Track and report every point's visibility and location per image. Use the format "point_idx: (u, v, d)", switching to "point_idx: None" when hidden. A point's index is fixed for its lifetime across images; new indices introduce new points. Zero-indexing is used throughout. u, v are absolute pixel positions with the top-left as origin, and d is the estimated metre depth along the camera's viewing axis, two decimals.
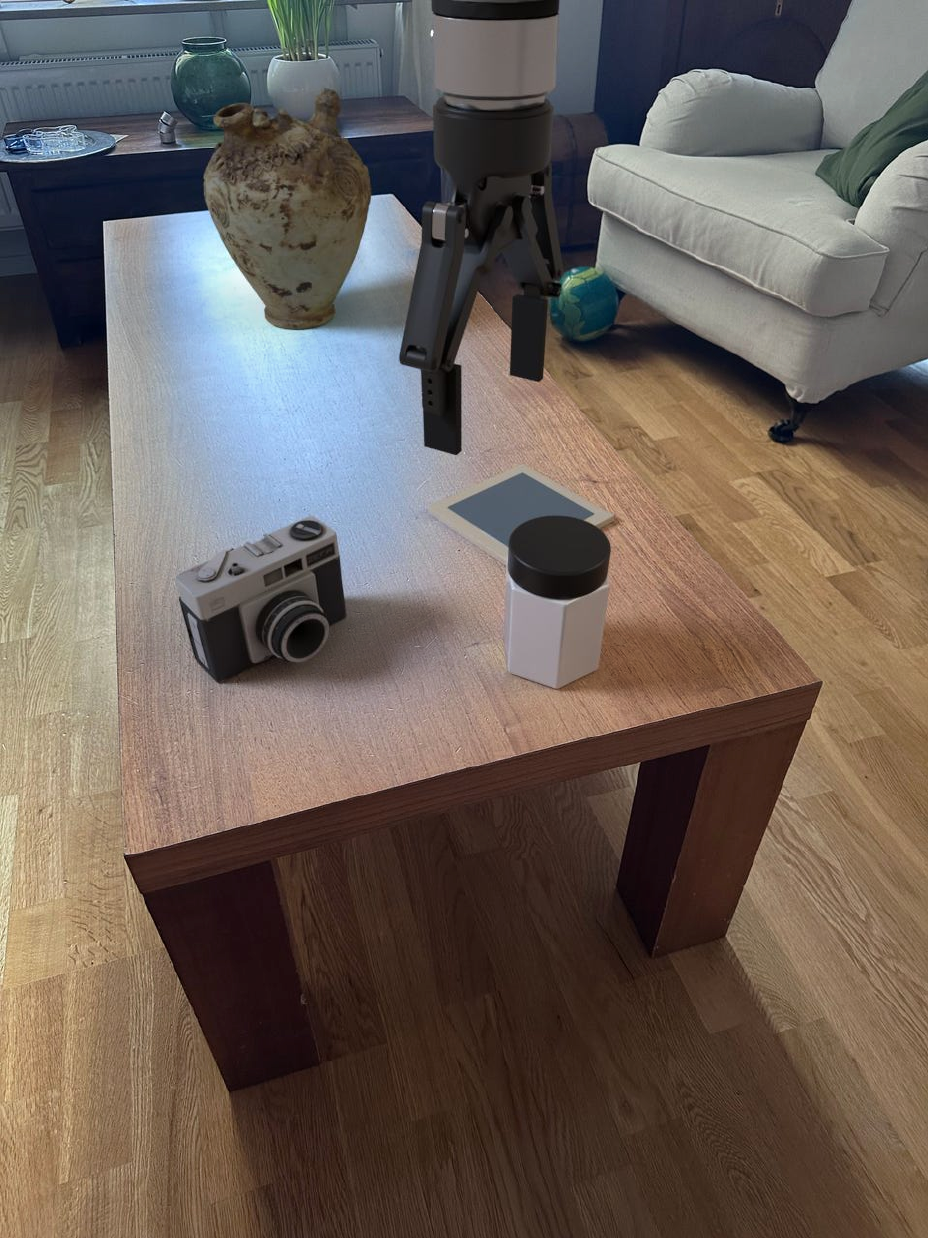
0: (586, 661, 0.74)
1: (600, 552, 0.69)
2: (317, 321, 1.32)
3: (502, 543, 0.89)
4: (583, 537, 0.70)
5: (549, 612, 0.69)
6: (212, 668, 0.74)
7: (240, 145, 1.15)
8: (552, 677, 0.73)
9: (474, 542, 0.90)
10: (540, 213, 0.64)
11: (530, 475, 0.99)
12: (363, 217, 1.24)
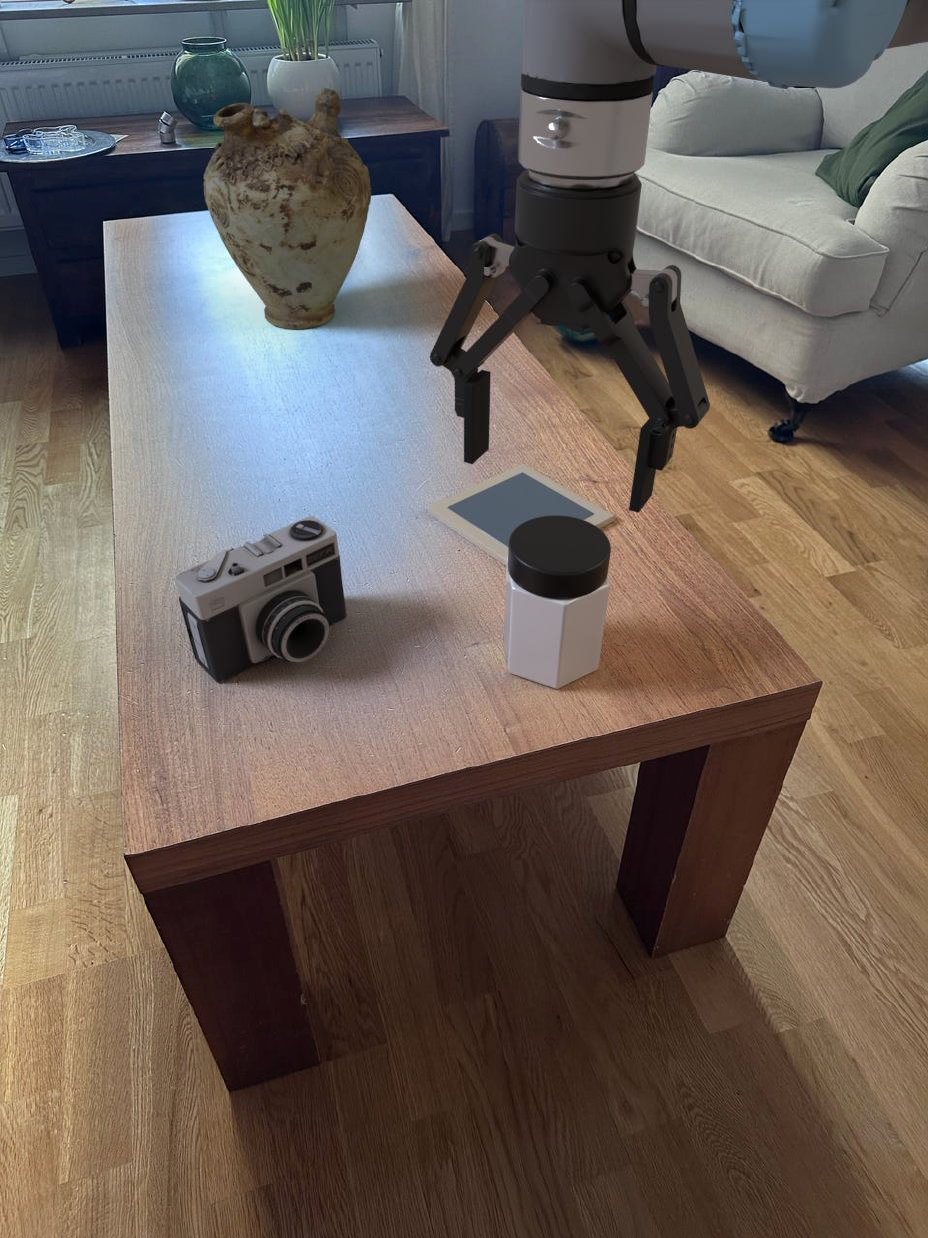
0: (586, 661, 0.74)
1: (600, 552, 0.69)
2: (317, 321, 1.32)
3: (502, 543, 0.89)
4: (583, 537, 0.70)
5: (549, 612, 0.69)
6: (212, 668, 0.74)
7: (240, 145, 1.15)
8: (552, 676, 0.73)
9: (474, 542, 0.90)
10: (490, 287, 0.61)
11: (530, 475, 0.99)
12: (363, 217, 1.24)
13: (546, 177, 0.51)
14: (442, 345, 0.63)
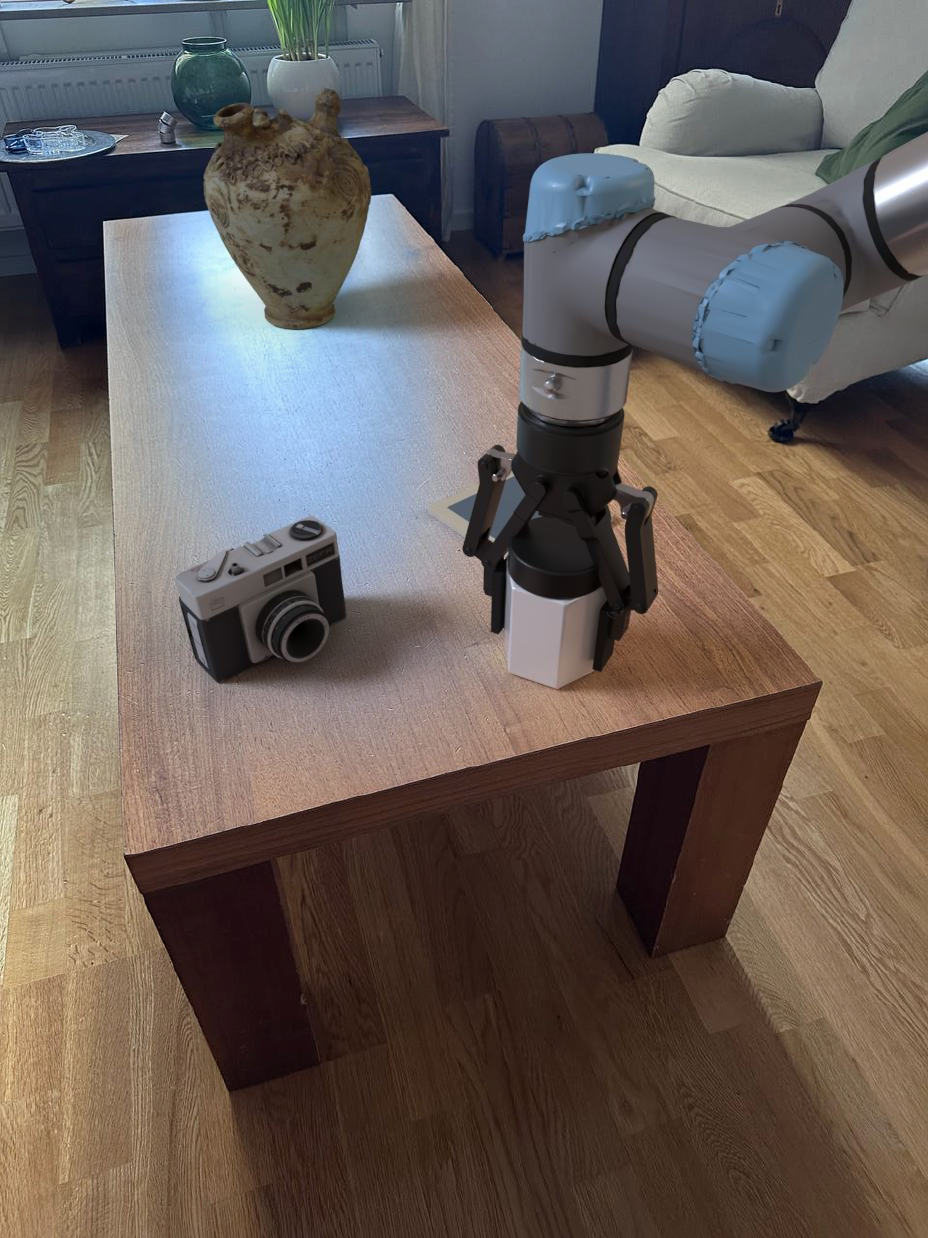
0: (586, 661, 0.74)
1: None
2: (317, 321, 1.32)
3: None
4: None
5: (549, 612, 0.69)
6: (212, 668, 0.74)
7: (240, 145, 1.15)
8: (552, 676, 0.73)
9: None
10: (502, 487, 0.70)
11: None
12: (363, 217, 1.24)
13: (543, 415, 0.60)
14: (471, 540, 0.73)
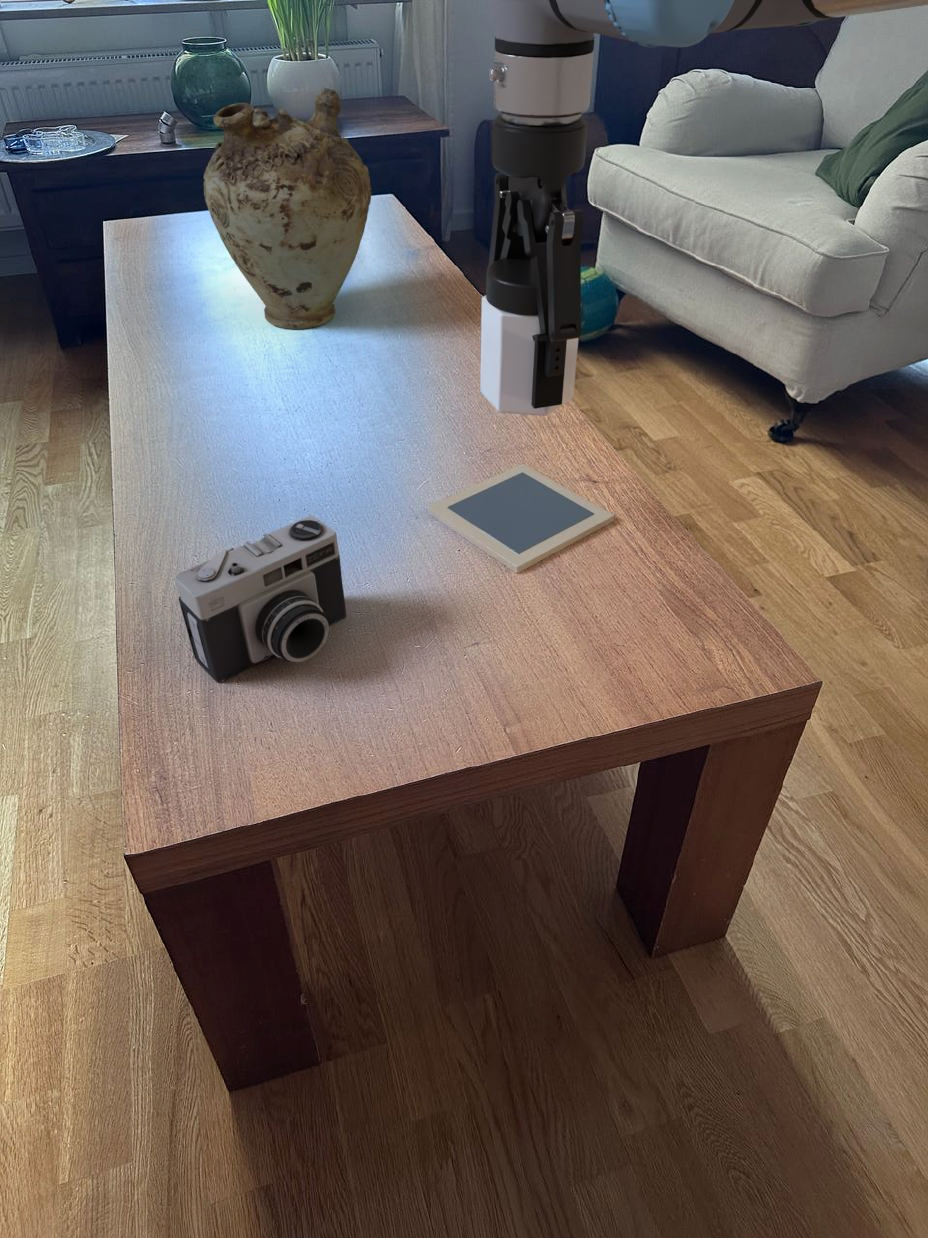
0: (530, 397, 0.81)
1: None
2: (317, 321, 1.32)
3: (502, 543, 0.89)
4: None
5: (495, 323, 0.78)
6: (212, 668, 0.74)
7: (240, 145, 1.15)
8: (496, 397, 0.82)
9: (474, 542, 0.90)
10: None
11: (530, 475, 0.99)
12: (363, 217, 1.24)
13: (501, 112, 0.69)
14: (491, 262, 0.83)
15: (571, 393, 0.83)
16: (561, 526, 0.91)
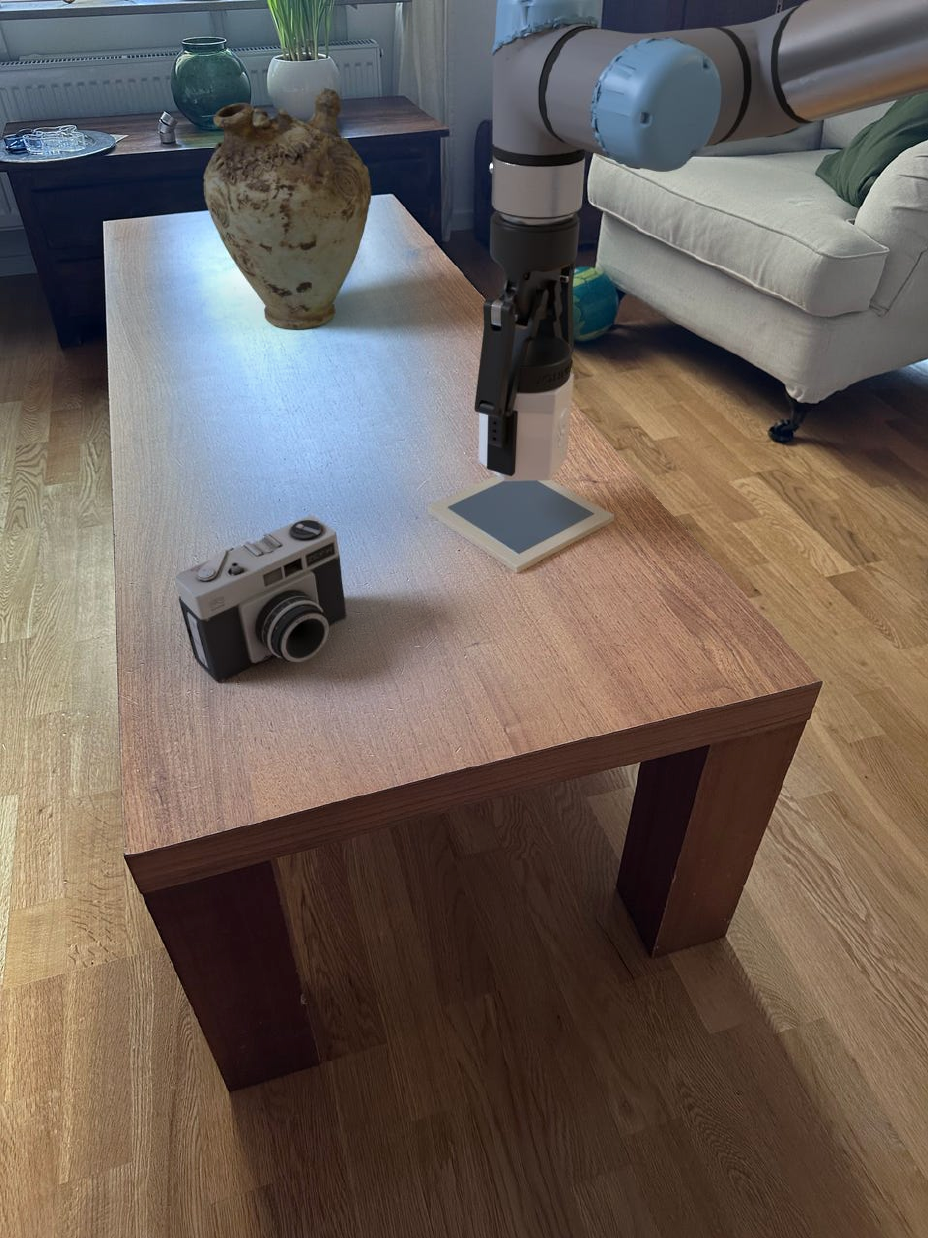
0: None
1: None
2: (317, 321, 1.32)
3: (502, 543, 0.89)
4: (537, 357, 0.80)
5: None
6: (212, 667, 0.74)
7: (240, 145, 1.15)
8: None
9: (474, 542, 0.90)
10: (563, 297, 0.83)
11: None
12: (363, 217, 1.24)
13: None
14: None
15: (545, 474, 0.86)
16: (561, 526, 0.91)
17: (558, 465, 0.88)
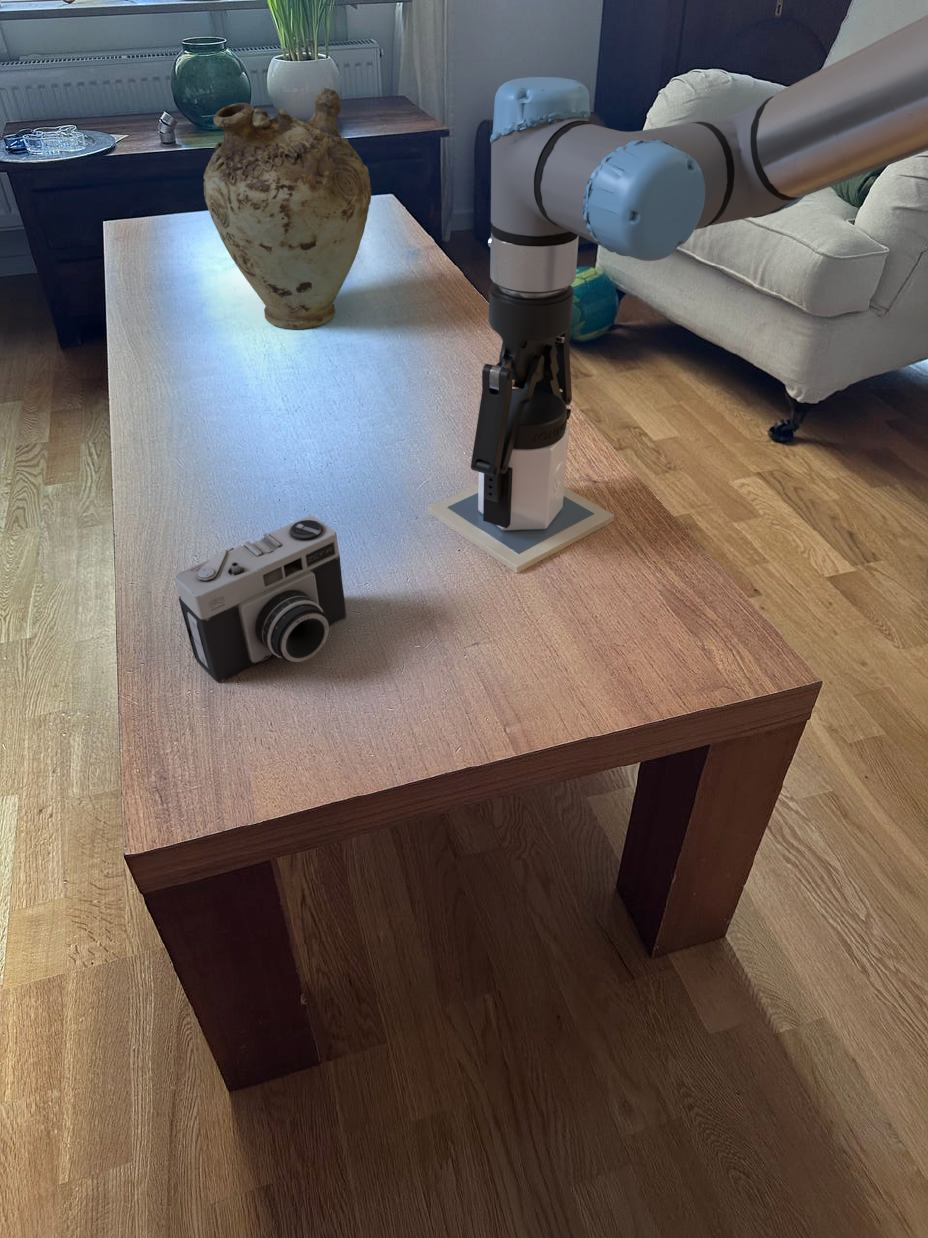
0: None
1: None
2: (317, 321, 1.32)
3: (502, 543, 0.89)
4: (534, 415, 0.84)
5: None
6: (212, 667, 0.74)
7: (240, 145, 1.15)
8: None
9: (474, 542, 0.90)
10: (559, 355, 0.87)
11: None
12: (363, 217, 1.24)
13: None
14: None
15: (542, 523, 0.90)
16: (561, 526, 0.91)
17: (554, 514, 0.91)
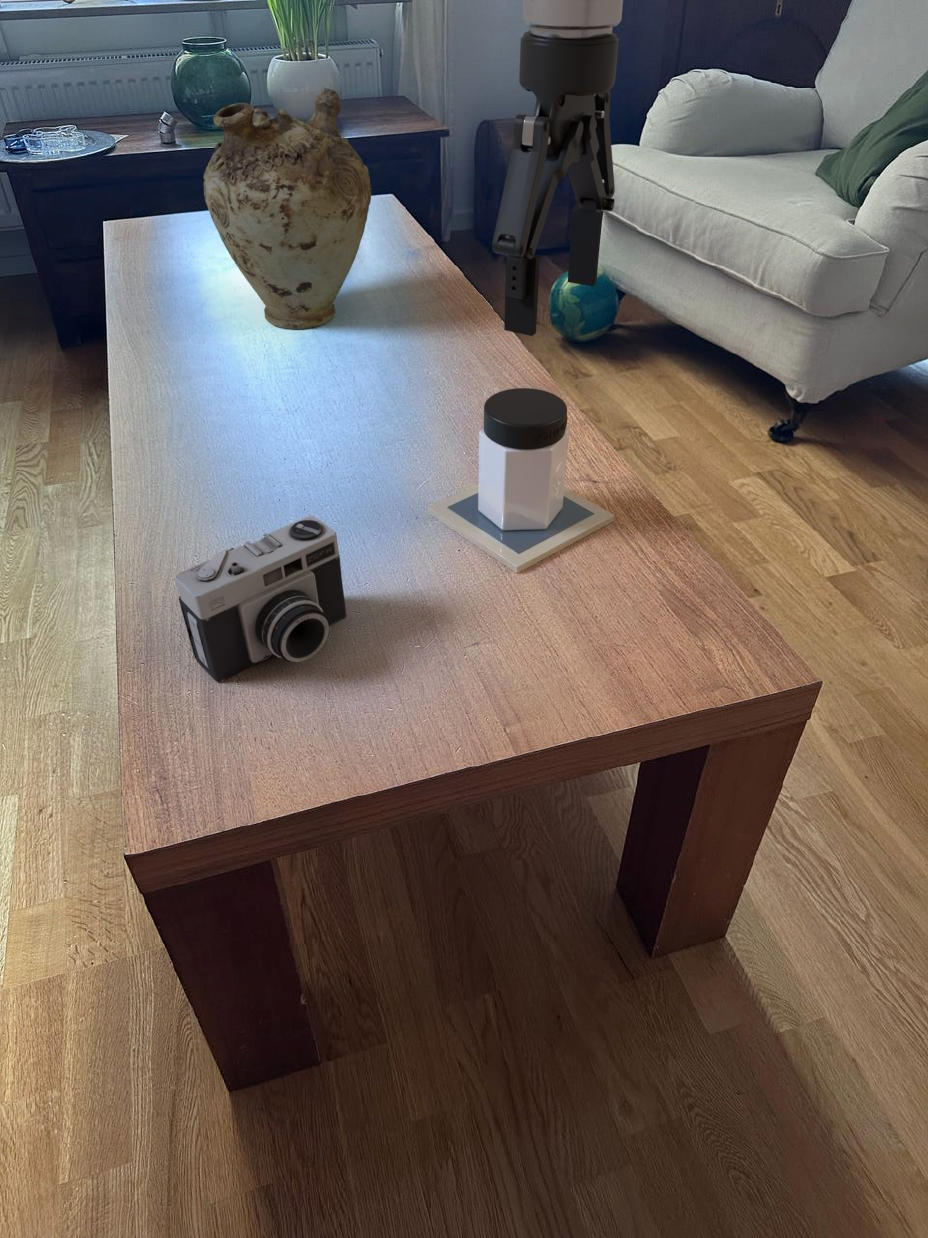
0: (494, 509, 0.90)
1: (513, 420, 0.83)
2: (317, 321, 1.32)
3: (502, 543, 0.89)
4: (534, 415, 0.84)
5: None
6: (212, 667, 0.74)
7: (240, 145, 1.15)
8: None
9: (474, 542, 0.90)
10: (599, 135, 0.77)
11: None
12: (363, 217, 1.24)
13: None
14: None
15: (542, 523, 0.90)
16: (561, 526, 0.91)
17: (554, 514, 0.91)
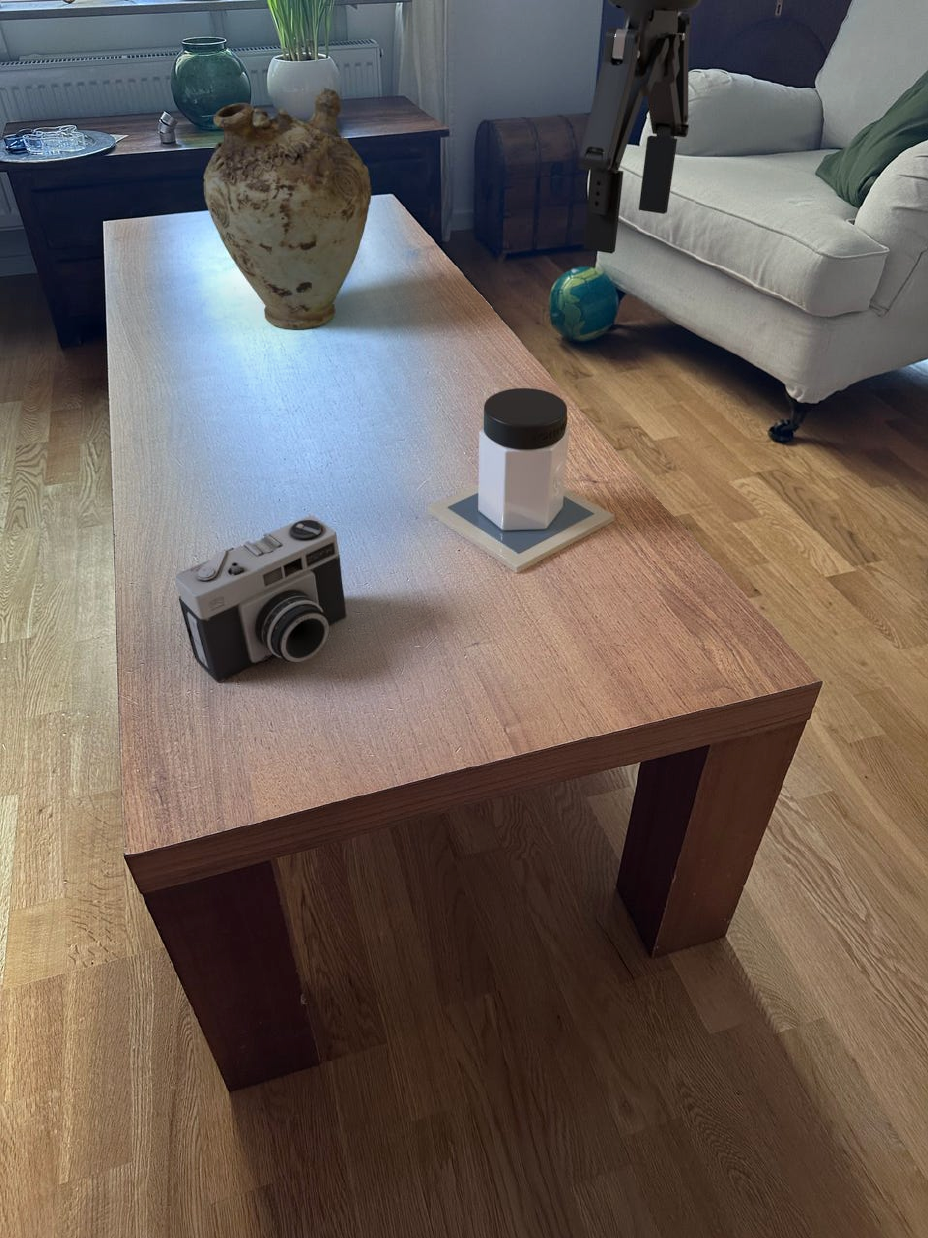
0: (494, 509, 0.90)
1: (513, 420, 0.83)
2: (317, 321, 1.32)
3: (502, 543, 0.89)
4: (534, 415, 0.84)
5: None
6: (212, 667, 0.74)
7: (240, 145, 1.15)
8: None
9: (474, 542, 0.90)
10: (678, 59, 0.79)
11: None
12: (363, 217, 1.24)
13: None
14: None
15: (542, 523, 0.90)
16: (561, 526, 0.91)
17: (554, 514, 0.91)
